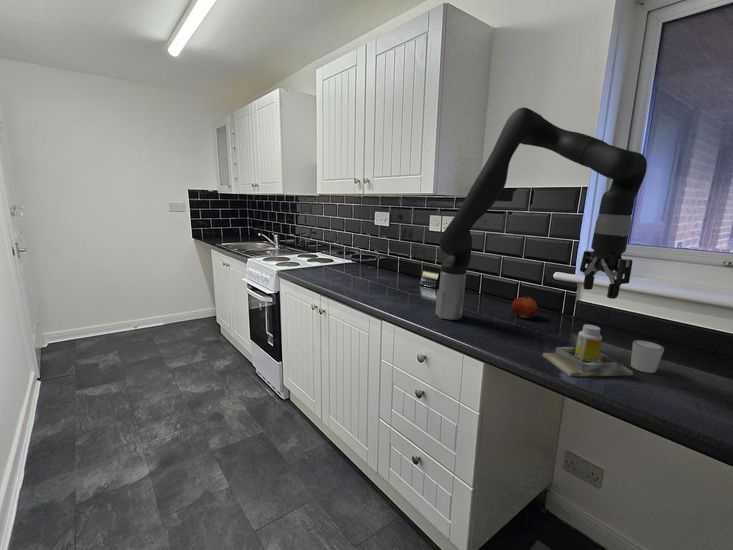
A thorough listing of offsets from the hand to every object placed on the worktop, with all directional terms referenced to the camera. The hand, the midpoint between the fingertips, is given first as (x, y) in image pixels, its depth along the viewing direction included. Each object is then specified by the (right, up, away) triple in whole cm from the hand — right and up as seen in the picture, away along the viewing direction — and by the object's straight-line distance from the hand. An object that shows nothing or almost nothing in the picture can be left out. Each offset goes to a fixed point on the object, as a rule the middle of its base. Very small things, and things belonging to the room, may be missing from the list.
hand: (599, 293), depth 95 cm
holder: (-1, -20, +4) cm, 21 cm away
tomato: (-1, -12, +45) cm, 46 cm away
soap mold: (+1, -104, +36) cm, 110 cm away
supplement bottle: (-1, -19, +5) cm, 20 cm away
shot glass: (+15, -21, +5) cm, 26 cm away
